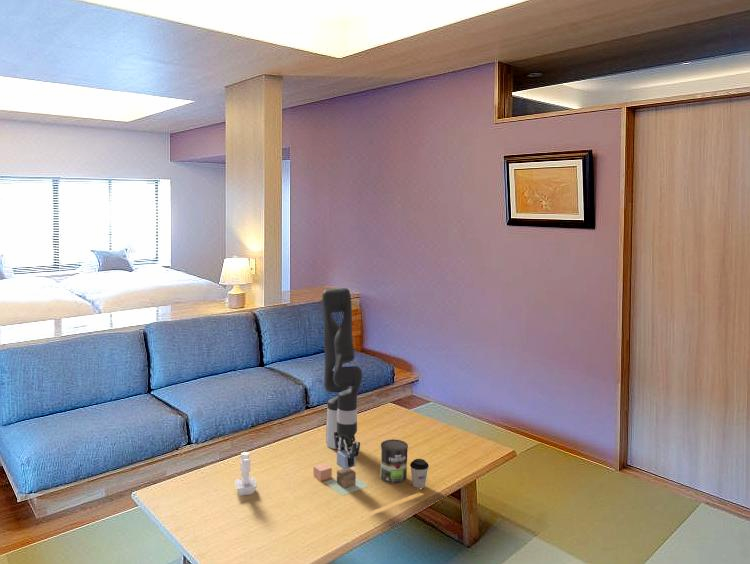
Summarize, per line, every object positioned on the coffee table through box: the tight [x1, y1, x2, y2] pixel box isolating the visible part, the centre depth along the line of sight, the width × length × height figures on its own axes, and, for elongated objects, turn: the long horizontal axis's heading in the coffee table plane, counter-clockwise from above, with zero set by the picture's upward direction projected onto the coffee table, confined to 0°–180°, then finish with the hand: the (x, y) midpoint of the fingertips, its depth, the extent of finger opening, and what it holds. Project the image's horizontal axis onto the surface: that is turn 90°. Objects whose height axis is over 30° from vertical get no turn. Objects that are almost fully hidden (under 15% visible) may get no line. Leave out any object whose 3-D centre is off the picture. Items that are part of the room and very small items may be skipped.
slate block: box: [336, 449, 357, 470], centre depth 213 cm, size 5×5×5 cm
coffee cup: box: [409, 458, 429, 490], centre depth 215 cm, size 7×7×10 cm
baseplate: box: [323, 477, 369, 496], centre depth 214 cm, size 12×12×1 cm
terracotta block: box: [312, 462, 333, 482], centre depth 219 cm, size 5×5×5 cm
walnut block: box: [336, 468, 357, 489], centre depth 214 cm, size 5×5×5 cm
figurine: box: [233, 451, 258, 497], centre depth 208 cm, size 7×9×15 cm
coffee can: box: [379, 439, 409, 485], centre depth 220 cm, size 10×10×14 cm
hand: (346, 463), depth 213 cm, fingers closed on slate block, 5 cm apart
